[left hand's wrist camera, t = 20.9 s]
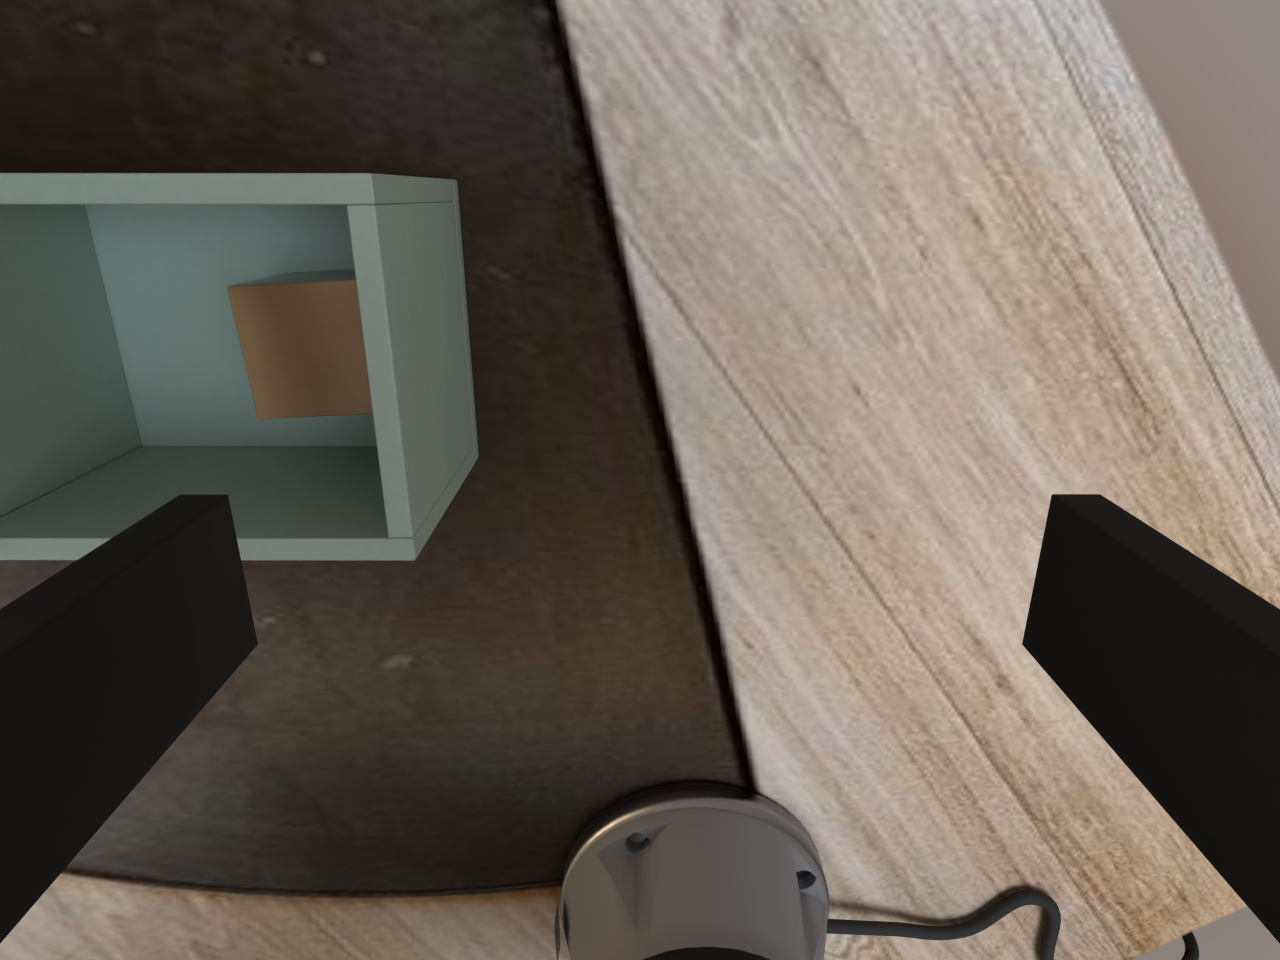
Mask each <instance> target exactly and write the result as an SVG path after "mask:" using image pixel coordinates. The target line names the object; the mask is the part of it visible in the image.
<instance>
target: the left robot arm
mask: <svg viewBox="0 0 1280 960" xmlns="http://www.w3.org/2000/svg"><path fill="white" fill-rule="evenodd" d="M257 645H258V643H257V638H256V633H255V628H254V623H253V618H252V613H251V608H250V603H249V598H248V593H247V588H246V582H245V577H244V572H243V567H242V562H241V557H240V552H239V547H238V542H237V537H236V532H235V527H234V522H233V517H232V512H231V507H230V502H229V497H228V494H180V495H178V496H177V497H175V498H174V499H172V500H171V501H169V502H167V503H166V504H164V505H163V506H161V507H160V508H158V509H157V510H155V511H153V512H152V513H150V514H149V515H147V516H146V517H144V518H142V519H141V520H139V521H138V522H136V523H135V524H133V525H132V526H130V527H128V528H127V529H125V530H124V531H122V532H121V533H119V534H117V535H116V536H114V537H113V538H111V539H110V540H108V541H106V542H105V543H103V544H102V545H100V546H99V547H97V548H96V549H94V550H92V551H91V552H89V553H88V554H86V555H85V556H83V557H81V558H80V559H78V560H77V561H75V562H74V563H72V564H71V565H69V566H67V567H66V568H64V569H63V570H61V571H60V572H58V573H56V574H55V575H53V576H52V577H50V578H49V579H47V580H45V581H44V582H42V583H41V584H39V585H38V586H36V587H35V588H33V589H31V590H30V591H28V592H27V593H25V594H24V595H22V596H20V597H19V598H17V599H16V600H14V601H13V602H11V603H10V604H8V605H6V606H5V607H3V608H2V609H0V943H1V942H2V941H3V940H4V938H5V937H6V936H7V935H8V934H9V933H10V931H11V930H12V929H13V928H14V927H15V926H16V924H17V923H18V922H19V921H20V920H21V919H22V917H23V916H24V915H25V914H26V913H27V912H28V911H29V909H30V908H31V907H32V906H33V905H34V904H35V902H36V901H37V900H38V899H39V898H40V897H41V895H42V894H43V893H44V892H45V891H46V890H47V888H48V887H49V886H50V885H51V884H52V883H53V881H54V880H55V879H56V878H57V877H58V876H59V875H60V873H61V872H62V871H63V870H64V869H65V868H66V866H67V865H68V864H69V863H70V862H71V861H72V859H73V858H74V857H75V856H76V855H77V854H78V852H79V851H80V850H81V849H82V848H83V847H84V845H85V844H86V843H87V842H88V841H89V840H90V839H91V837H92V836H93V835H94V834H95V833H96V832H97V830H98V829H99V828H100V827H101V826H102V825H103V823H104V822H105V821H106V820H107V819H108V818H109V816H110V815H111V814H112V813H113V812H114V811H115V809H116V808H117V807H118V806H119V805H120V804H121V803H122V801H123V800H124V799H125V798H126V797H127V796H128V794H129V793H130V792H131V791H132V790H133V789H134V787H135V786H136V785H137V784H138V783H139V782H140V780H141V779H142V778H143V777H144V776H145V775H146V773H147V772H148V771H149V770H150V769H151V768H152V767H153V765H154V764H155V763H156V762H157V761H158V760H159V758H160V757H161V756H162V755H163V754H164V753H165V751H166V750H167V749H168V748H169V747H170V746H171V744H172V743H173V742H174V741H175V740H176V739H177V737H178V736H179V735H180V734H181V733H182V732H183V731H184V729H185V728H186V727H187V726H188V725H189V724H190V722H191V721H192V720H193V719H194V718H195V717H196V715H197V714H198V713H199V712H200V711H201V710H202V708H203V707H204V706H205V705H206V704H207V703H208V701H209V700H210V699H211V698H212V697H213V696H214V695H215V693H216V692H217V691H218V690H219V689H220V688H221V686H222V685H223V684H224V683H225V682H226V681H227V679H228V678H229V677H230V676H231V675H232V674H233V672H234V671H235V670H236V669H237V668H238V667H239V665H240V664H241V663H242V662H243V661H244V660H245V659H246V657H247V656H248V655H249V654H250V653H251V652H252V650H253V649H254V648H255V647H256V646H257ZM1022 645H1023V646H1024V647H1025V648H1026V649H1027V650H1028V652H1029V653H1030V654H1031V655H1032V656H1033V657H1034V659H1035V660H1036V661H1037V662H1038V663H1039V664H1040V665H1041V667H1042V668H1043V669H1044V670H1045V671H1046V672H1047V674H1048V675H1049V676H1050V677H1051V678H1052V679H1053V681H1054V682H1055V683H1056V684H1057V685H1058V686H1059V688H1060V689H1061V690H1062V691H1063V692H1064V693H1065V695H1066V696H1067V697H1068V698H1069V699H1070V700H1071V701H1072V703H1073V704H1074V705H1075V706H1076V707H1077V708H1078V710H1079V711H1080V712H1081V713H1082V714H1083V715H1084V717H1085V718H1086V719H1087V720H1088V721H1089V722H1090V724H1091V725H1092V726H1093V727H1094V728H1095V729H1096V731H1097V732H1098V733H1099V734H1100V735H1101V736H1102V737H1103V739H1104V740H1105V741H1106V742H1107V743H1108V744H1109V746H1110V747H1111V748H1112V749H1113V750H1114V751H1115V753H1116V754H1117V755H1118V756H1119V757H1120V758H1121V760H1122V761H1123V762H1124V763H1125V764H1126V765H1127V767H1128V768H1129V769H1130V770H1131V771H1132V772H1133V773H1134V775H1135V776H1136V777H1137V778H1138V779H1139V780H1140V782H1141V783H1142V784H1143V785H1144V786H1145V787H1146V789H1147V790H1148V791H1149V792H1150V793H1151V794H1152V796H1153V797H1154V798H1155V799H1156V800H1157V801H1158V803H1159V804H1160V805H1161V806H1162V807H1163V808H1164V809H1165V811H1166V812H1167V813H1168V814H1169V815H1170V816H1171V818H1172V819H1173V820H1174V821H1175V822H1176V823H1177V825H1178V826H1179V827H1180V828H1181V829H1182V830H1183V832H1184V833H1185V834H1186V835H1187V836H1188V837H1189V839H1190V840H1191V841H1192V842H1193V843H1194V844H1195V845H1196V847H1197V848H1198V849H1199V850H1200V851H1201V852H1202V854H1203V855H1204V856H1205V857H1206V858H1207V859H1208V861H1209V862H1210V863H1211V864H1212V865H1213V866H1214V868H1215V869H1216V870H1217V871H1218V872H1219V873H1220V875H1221V876H1222V877H1223V878H1224V879H1225V880H1226V881H1227V883H1228V884H1229V885H1230V886H1231V887H1232V888H1233V890H1234V891H1235V892H1236V893H1237V894H1238V895H1239V897H1240V898H1241V899H1242V900H1243V901H1244V902H1245V904H1246V905H1247V906H1248V907H1249V908H1250V909H1251V910H1252V912H1253V913H1254V914H1255V915H1256V916H1257V917H1258V919H1259V920H1260V921H1261V922H1262V923H1263V924H1264V926H1265V927H1266V928H1267V929H1268V930H1269V931H1270V933H1271V934H1272V935H1273V936H1274V937H1275V938H1276V940H1277V941H1278V942H1279V943H1280V609H1278V608H1277V607H1275V606H1274V605H1272V604H1270V603H1269V602H1267V601H1266V600H1264V599H1263V598H1261V597H1260V596H1258V595H1256V594H1255V593H1253V592H1252V591H1250V590H1249V589H1247V588H1245V587H1244V586H1242V585H1241V584H1239V583H1238V582H1236V581H1235V580H1233V579H1231V578H1230V577H1228V576H1227V575H1225V574H1224V573H1222V572H1220V571H1219V570H1217V569H1216V568H1214V567H1213V566H1211V565H1209V564H1208V563H1206V562H1205V561H1203V560H1202V559H1200V558H1199V557H1197V556H1195V555H1194V554H1192V553H1191V552H1189V551H1188V550H1186V549H1184V548H1183V547H1181V546H1180V545H1178V544H1177V543H1175V542H1174V541H1172V540H1170V539H1169V538H1167V537H1166V536H1164V535H1163V534H1161V533H1159V532H1158V531H1156V530H1155V529H1153V528H1152V527H1150V526H1148V525H1147V524H1145V523H1144V522H1142V521H1141V520H1139V519H1138V518H1136V517H1134V516H1133V515H1131V514H1130V513H1128V512H1127V511H1125V510H1123V509H1122V508H1120V507H1119V506H1117V505H1116V504H1114V503H1113V502H1111V501H1109V500H1108V499H1106V498H1105V497H1103V496H1102V495H1100V494H1052V497H1051V502H1050V507H1049V512H1048V517H1047V522H1046V527H1045V532H1044V537H1043V542H1042V547H1041V552H1040V557H1039V562H1038V567H1037V572H1036V577H1035V582H1034V588H1033V593H1032V598H1031V603H1030V608H1029V613H1028V618H1027V623H1026V628H1025V633H1024V638H1023V643H1022ZM1032 904H1033V905H1039V906H1041V907H1043V908H1045V909H1046V911H1047V922H1046V927H1045V931H1044V935H1043V939H1042V944H1041V950H1040V958H1041V960H1054V950H1055V945H1056V942H1057V938H1058V934H1059V930H1060V923H1061V914H1060V911H1059V908H1058V906H1057V904H1056V903H1055V902H1054V901H1053V899H1052V898H1050V897H1049V896H1047V895H1045V894H1042V893H1040V892H1036V891H1021V892H1017V893H1014V894H1012V895H1009V896H1007V897H1006V898H1004V899H1002V900H1001V901H999V902H998V903H996V904H995V905H994V906H992V907H991V908H989V909H988V910H986V911H985V912H984V913H982V914H981V915H979V916H977V917H975V918H974V919H972V920H969V921H967V922H964V923H960V924H955V925H948V926H926V925H917V924H909V923H900V922H882V921H859V920H839V919H828V913H829V894H828V888H827V884H826V880H825V876H824V873H823V869H822V865H821V861H820V857H819V854H818V852H817V849H816V847H815V845H814V843H813V841H812V839H811V837H810V836H809V834H808V833H807V831H806V830H805V829H804V828H803V826H802V825H801V824H800V823H799V822H798V821H797V820H796V819H795V818H794V817H793V816H792V815H791V814H790V813H788V812H787V811H786V810H784V809H783V808H781V807H780V806H779V805H777V804H775V803H773V802H772V801H770V800H768V799H766V798H764V797H762V796H760V795H758V794H755V793H752V792H750V791H747V790H743V789H740V788H736V787H732V786H727V785H722V784H713V783H695V782H693V783H677V784H669V785H664V786H659V787H654V788H651V789H647V790H644V791H641V792H638V793H636V794H633V795H630V796H628V797H626V798H624V799H622V800H620V801H618V802H616V803H615V804H613V805H611V806H610V807H608V808H607V809H605V810H604V811H603V812H601V813H600V814H599V815H597V816H596V817H595V818H594V819H593V820H592V821H591V822H590V823H589V824H588V825H587V826H586V827H585V828H584V829H583V830H582V832H581V833H580V835H579V836H578V837H577V839H576V840H575V842H574V844H573V846H572V848H571V850H570V852H569V855H568V857H567V861H566V864H565V869H564V877H563V885H562V894H561V902H560V913H561V920H562V925H563V929H564V932H565V936H566V940H567V944H568V948H569V953H570V957H571V960H824V951H825V941H826V933H833V934H855V935H878V936H900V937H910V938H918V939H927V940H950V939H958V938H964V937H967V936H971V935H974V934H976V933H978V932H981V931H982V930H984V929H986V928H988V927H989V926H991V925H992V924H994V923H995V922H997V921H998V920H1000V919H1001V918H1002V917H1004V916H1005V915H1007V914H1008V913H1010V912H1011V911H1013V910H1015V909H1017V908H1019V907H1021V906H1025V905H1032ZM555 938H556V954H557V960H558V959H559V949H560V930H559V913H558V900H557V909H556V917H555ZM1182 938H1183V941H1184V944H1185V953H1184V956H1183V958H1182V959H1181V960H1198V959H1199V948H1198V944H1197V941H1196V939H1195V936H1194V934H1193V932H1192V931H1190V932H1188V933H1186V934H1184V935H1182Z"/></svg>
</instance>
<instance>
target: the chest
mask: <svg viewBox="0 0 1280 960" xmlns="http://www.w3.org/2000/svg"><path fill="white" fill-rule="evenodd" d="M349 269H355V277H356V285H357V292H358V300H359V308H360V316H361V324H362V332H363V340H364V348H365V356H366V364H367V372H368V380H369V388H370V396H371V403H372V411H373V414H358V415H337V416H317V417H297V418H277V419H258V417H257V413H256V409H255V404H254V400H253V396H252V392H251V387H250V383H249V379H248V375H247V370H246V366H245V362H244V357H243V353H242V349H241V345H240V340H239V336H238V332H237V328H236V323H235V319H234V315H233V311H232V306H231V302H230V298H229V294H228V289H227V286H230V285H235V284H239V283H244V282H248V281H253V280H257V279H262V278H266V277H271V276H275V275H280V274H284V273H293V272H312V271H331V270H349ZM478 457H479V455H478V442H477V430H476V417H475V404H474V391H473V378H472V365H471V352H470V339H469V326H468V314H467V301H466V288H465V275H464V262H463V249H462V236H461V223H460V210H459V197H458V185H457V180H454V179H441V178H428V177H414V176H401V175H388V174H374V173H0V560H78V559H80V558H81V557H83V556H85V555H86V554H88V553H89V552H91V551H92V550H94V549H96V548H97V547H99V546H100V545H102V544H103V543H105V542H106V541H108V540H110V539H111V538H113V537H114V536H116V535H117V534H119V533H121V532H122V531H124V530H125V529H127V528H128V527H130V526H132V525H133V524H135V523H136V522H138V521H139V520H141V519H142V518H144V517H146V516H147V515H149V514H150V513H152V512H153V511H155V510H157V509H158V508H160V507H161V506H163V505H164V504H166V503H167V502H169V501H171V500H172V499H174V498H175V497H177V496H178V495H180V494H228V497H229V502H230V507H231V512H232V517H233V522H234V527H235V532H236V537H237V542H238V547H239V552H240V557H241V560H416V558H417V556H418V555H419V553H420V551H421V550H422V548H423V547H424V545H425V543H426V542H427V540H428V538H429V537H430V535H431V534H432V532H433V530H434V529H435V527H436V526H437V524H438V522H439V521H440V519H441V517H442V516H443V514H444V513H445V511H446V509H447V508H448V506H449V504H450V503H451V501H452V500H453V498H454V496H455V495H456V493H457V492H458V490H459V488H460V487H461V485H462V483H463V482H464V480H465V479H466V477H467V475H468V474H469V472H470V470H471V469H472V467H473V466H474V464H475V462H476V460H477V459H478Z"/></svg>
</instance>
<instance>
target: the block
mask: <svg viewBox="0 0 1280 960" xmlns="http://www.w3.org/2000/svg"><path fill="white" fill-rule="evenodd" d="M227 289H228V294H229V298H230V302H231V306H232V311H233V315H234V319H235V323H236V328H237V332H238V336H239V340H240V345H241V349H242V353H243V357H244V362H245V366H246V370H247V375H248V379H249V383H250V387H251V392H252V396H253V400H254V404H255V409H256V413H257V417H258V419H277V418H297V417H317V416H337V415H358V414H373V411H372V403H371V396H370V388H369V380H368V372H367V364H366V356H365V348H364V340H363V332H362V324H361V316H360V308H359V300H358V292H357V285H356V277H355V269H349V270H331V271H312V272H293V273H284V274H280V275H275V276H271V277H266V278H262V279H257V280H253V281H248V282H244V283H239V284H235V285H230V286H227Z"/></svg>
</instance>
